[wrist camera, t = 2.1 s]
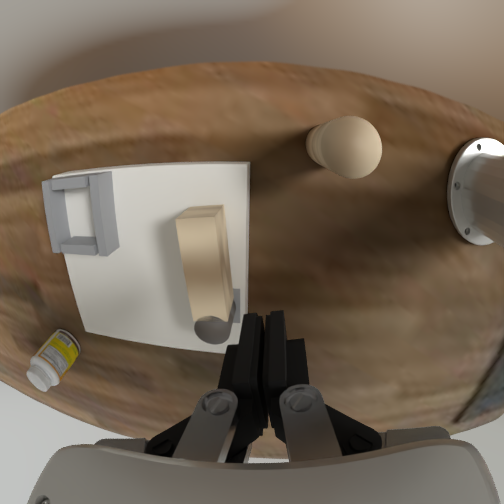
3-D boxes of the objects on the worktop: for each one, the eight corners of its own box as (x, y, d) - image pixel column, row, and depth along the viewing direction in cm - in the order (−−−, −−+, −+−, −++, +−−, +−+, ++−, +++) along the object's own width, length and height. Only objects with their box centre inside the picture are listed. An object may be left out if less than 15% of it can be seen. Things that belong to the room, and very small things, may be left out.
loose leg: (348, 126, 23) (383, 120, 15) (346, 167, 25) (379, 181, 16) (306, 122, 24) (322, 112, 15) (304, 164, 25) (319, 175, 17)
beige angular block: (237, 319, 28) (232, 344, 24) (206, 319, 28) (197, 343, 25) (225, 204, 24) (215, 216, 20) (189, 206, 24) (174, 219, 20)
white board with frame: (250, 161, 25) (244, 166, 20) (247, 338, 33) (242, 370, 28) (68, 171, 27) (37, 180, 22) (96, 319, 34) (76, 342, 29)
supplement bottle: (64, 352, 38) (34, 390, 29) (51, 325, 36) (16, 363, 27) (86, 356, 38) (57, 399, 28) (74, 329, 36) (38, 371, 26)
